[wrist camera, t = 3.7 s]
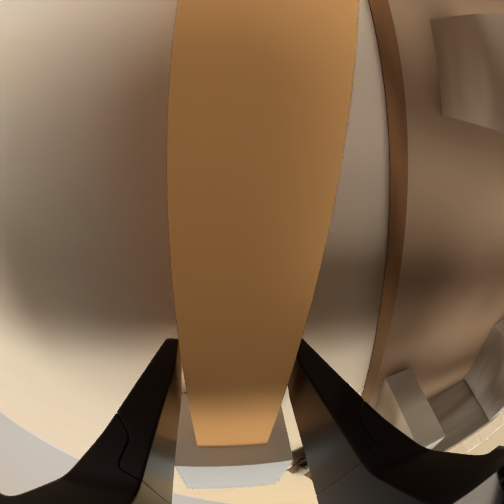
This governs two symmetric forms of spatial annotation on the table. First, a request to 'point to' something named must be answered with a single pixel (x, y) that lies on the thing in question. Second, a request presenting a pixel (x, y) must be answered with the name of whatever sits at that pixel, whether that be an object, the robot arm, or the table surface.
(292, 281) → the tan bar grey block
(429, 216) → the cable board
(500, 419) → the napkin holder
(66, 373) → the table surface
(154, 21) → the table surface
